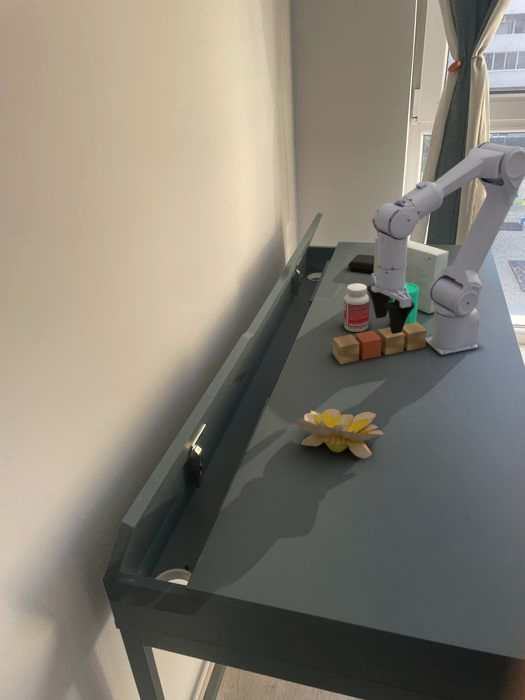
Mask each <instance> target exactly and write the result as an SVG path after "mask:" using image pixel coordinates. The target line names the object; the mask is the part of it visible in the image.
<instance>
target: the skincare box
mask: <svg viewBox="0 0 525 700" xmlns="http://www.w3.org/2000/svg"><path fill="white" fill-rule="evenodd" d="M374 241H375V242H374V256H375V258H374V273H377V251H378V238H377V236H376V237H375V239H374ZM448 260H449V251H448V250H444V249H441V248H437V247H435V246H431V245H427V244H424V243H420V242H416V241H413V240H410V239H408V242H407V258H406V274H405V283H406V282H407V283H411V284H415V285H417V286H418V287H419V294H418V306H417V310H419V311H421V312H424V313H426V314H428V315H429V314H432V313H434V312H435V307H434V306H433V303H434V301H432V300H431V298H430V296H429V289H430V286H431V284H432V283H433V282H434V281H435V280H436V279H437V277H438V276H439V275H440V273H441V271H442V269H444V268H446V267H448ZM373 284H374V283H372V285H373ZM390 299H391V300H393V298H392V297H390Z"/></svg>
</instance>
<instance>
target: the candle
mask: <svg viewBox="0 0 525 700" xmlns="http://www.w3.org/2000/svg"><path fill="white" fill-rule="evenodd" d="M405 285H406V288H407V291H408V294H409V296H410V297H411V301H412V302H413V303H415V306H414V308H413V309H412V311H411V312H410V313H409V315H408V317H407V319H406V321H405V324H409V323H415V322H417V319H418V318H417V317H418V309H417V306H418V294H419V287H418V286H417V285H415V284H411V283H407V282H406V283H405ZM392 302H395V299H394V298H393V299H392Z"/></svg>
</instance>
